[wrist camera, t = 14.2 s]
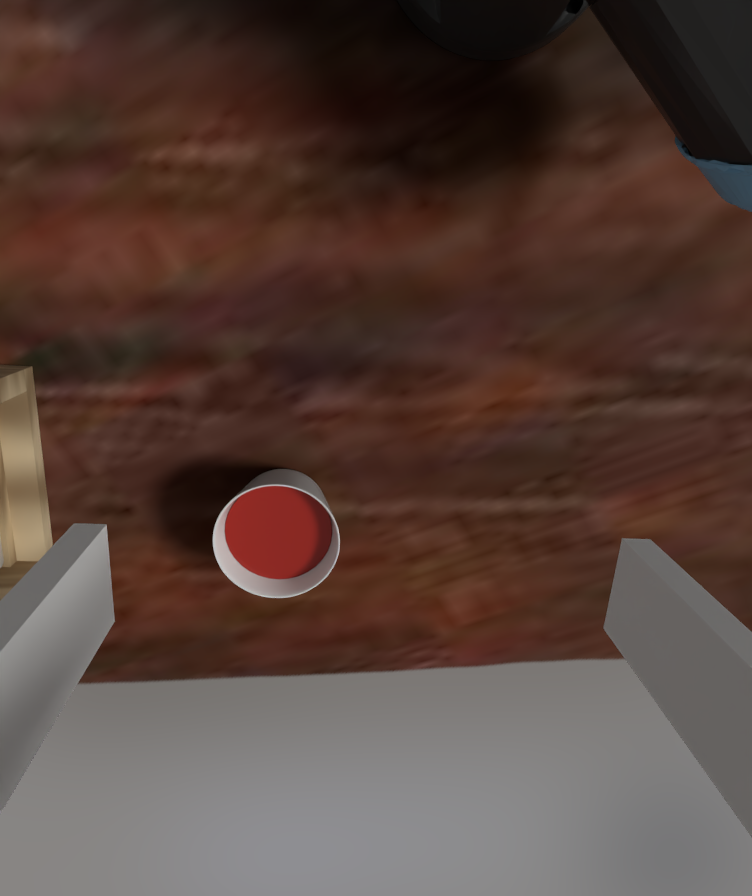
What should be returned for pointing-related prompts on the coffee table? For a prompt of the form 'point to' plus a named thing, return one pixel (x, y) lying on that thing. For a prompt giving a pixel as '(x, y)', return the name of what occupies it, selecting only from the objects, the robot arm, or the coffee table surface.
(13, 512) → the oak roll cradle
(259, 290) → the coffee table surface
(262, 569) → the candle
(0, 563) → the paper roll
